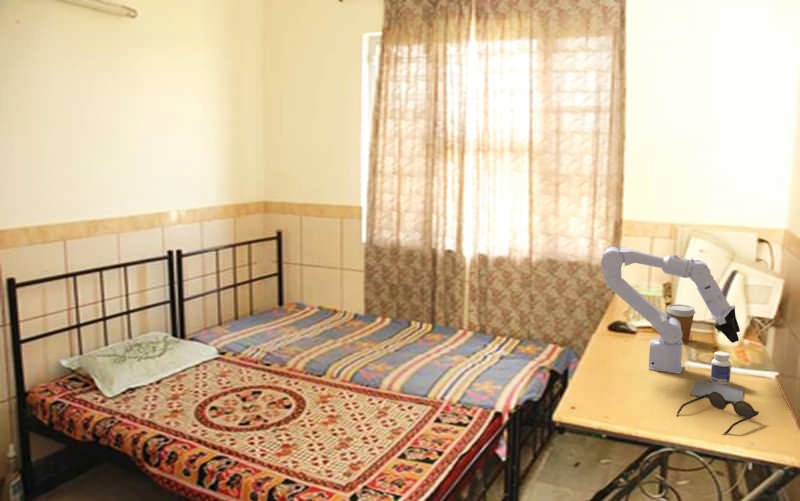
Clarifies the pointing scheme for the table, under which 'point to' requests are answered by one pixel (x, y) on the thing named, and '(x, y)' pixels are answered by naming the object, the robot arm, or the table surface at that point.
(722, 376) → the pill bottle
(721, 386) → the desk mat
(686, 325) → the disposable coffee cup
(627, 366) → the table surface
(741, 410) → the eyeglasses
